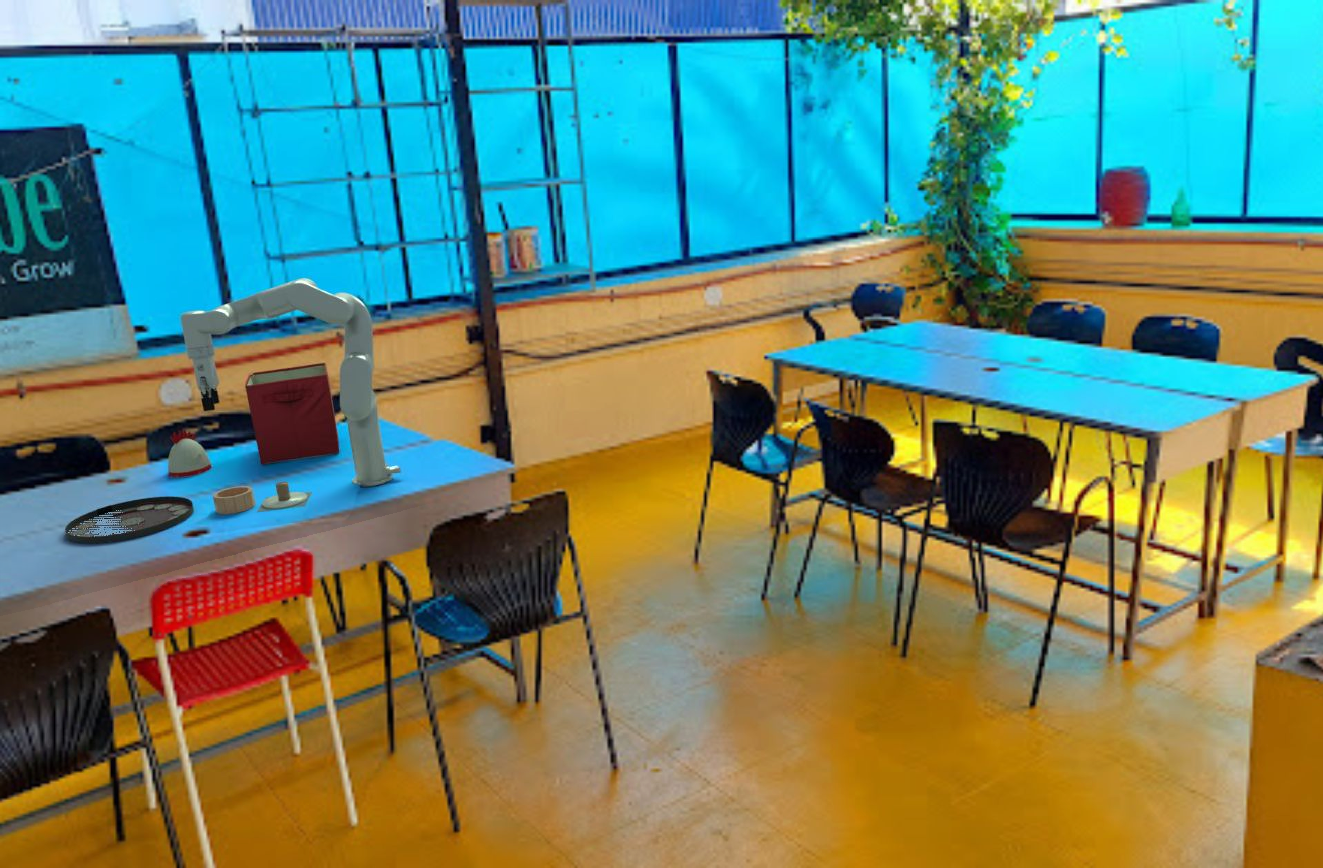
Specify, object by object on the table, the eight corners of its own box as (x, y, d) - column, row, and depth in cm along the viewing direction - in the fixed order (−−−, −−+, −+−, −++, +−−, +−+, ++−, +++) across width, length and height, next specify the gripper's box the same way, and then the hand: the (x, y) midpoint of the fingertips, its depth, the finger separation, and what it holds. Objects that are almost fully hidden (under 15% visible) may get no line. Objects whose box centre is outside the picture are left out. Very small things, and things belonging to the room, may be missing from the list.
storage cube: (262, 447, 407) (247, 370, 400) (338, 435, 414) (326, 360, 407) (259, 469, 377) (243, 387, 370) (341, 456, 385) (327, 375, 377)
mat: (312, 494, 342) (312, 491, 341) (305, 508, 328) (304, 505, 328) (266, 500, 340) (266, 497, 340) (257, 515, 327) (256, 511, 326)
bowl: (259, 502, 338) (255, 484, 337) (251, 514, 328) (247, 495, 326) (222, 507, 337) (218, 489, 336) (213, 519, 327) (209, 500, 325)
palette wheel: (160, 498, 355) (158, 490, 354) (216, 513, 333) (214, 505, 332) (47, 533, 329) (45, 525, 329) (99, 552, 307) (97, 544, 307)
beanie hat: (163, 473, 384) (154, 431, 380) (203, 463, 393) (194, 422, 389) (177, 479, 374) (168, 437, 370) (217, 469, 382) (209, 427, 378)
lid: (310, 492, 341) (307, 474, 339) (303, 505, 328) (299, 487, 327) (267, 497, 339) (263, 480, 338) (258, 511, 327) (254, 492, 325)
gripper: (209, 355, 325) (220, 411, 329) (217, 346, 341) (228, 399, 346) (182, 358, 323) (194, 414, 328) (192, 349, 340) (203, 402, 344)
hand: (211, 407), depth 337 cm, fingers open, 9 cm apart
